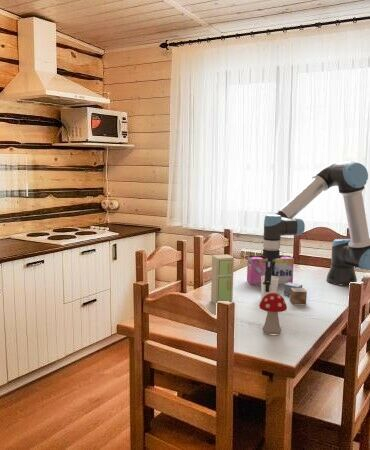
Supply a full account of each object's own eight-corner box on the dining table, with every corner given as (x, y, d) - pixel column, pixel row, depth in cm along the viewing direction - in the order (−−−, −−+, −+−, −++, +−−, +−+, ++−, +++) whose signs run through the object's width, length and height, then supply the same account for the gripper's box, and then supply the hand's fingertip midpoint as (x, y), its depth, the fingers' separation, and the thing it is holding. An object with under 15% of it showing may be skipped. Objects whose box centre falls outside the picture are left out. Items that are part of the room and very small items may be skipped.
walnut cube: (303, 300, 206) (303, 288, 205) (305, 305, 200) (306, 291, 199) (289, 300, 206) (290, 287, 205) (292, 304, 200) (293, 291, 199)
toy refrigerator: (215, 306, 195) (217, 258, 192) (210, 300, 202) (211, 254, 199) (233, 304, 197) (235, 257, 194) (227, 299, 204) (228, 254, 201)
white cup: (257, 299, 206) (258, 278, 204) (263, 295, 213) (264, 274, 211) (274, 302, 202) (275, 280, 201) (279, 297, 209) (280, 276, 208)
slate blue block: (301, 295, 215) (302, 284, 214) (297, 297, 211) (298, 286, 210) (288, 292, 219) (288, 282, 218) (283, 294, 215) (284, 284, 214)
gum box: (289, 280, 241) (291, 255, 239) (295, 284, 233) (296, 258, 231) (246, 280, 238) (247, 255, 236) (250, 285, 230) (251, 258, 228)
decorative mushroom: (282, 328, 170) (284, 290, 168) (288, 337, 162) (290, 297, 160) (256, 328, 170) (257, 289, 168) (260, 337, 161) (262, 296, 159)
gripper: (266, 243, 217) (264, 286, 220) (259, 253, 193) (256, 301, 196) (282, 244, 215) (279, 288, 218) (276, 254, 191) (274, 303, 194)
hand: (268, 294), depth 207 cm, fingers open, 13 cm apart
